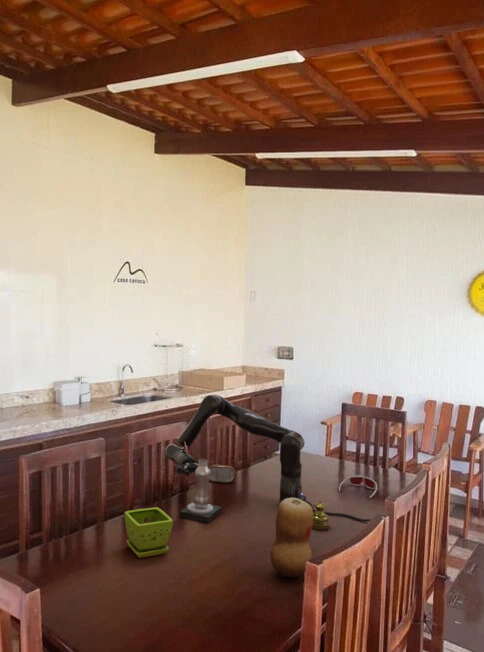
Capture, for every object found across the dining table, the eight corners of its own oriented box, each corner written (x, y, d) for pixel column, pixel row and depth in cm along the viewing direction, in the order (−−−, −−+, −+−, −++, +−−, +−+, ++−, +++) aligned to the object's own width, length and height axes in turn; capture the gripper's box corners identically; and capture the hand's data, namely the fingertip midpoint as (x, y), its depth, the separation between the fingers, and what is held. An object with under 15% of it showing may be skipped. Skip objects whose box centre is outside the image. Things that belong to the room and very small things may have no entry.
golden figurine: (328, 531, 215) (329, 506, 215) (309, 529, 217) (310, 504, 217) (327, 524, 223) (329, 500, 222) (309, 522, 224) (310, 498, 224)
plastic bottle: (192, 504, 231) (194, 457, 230) (208, 504, 231) (210, 458, 231) (193, 509, 224) (195, 462, 224) (209, 509, 225) (211, 462, 225)
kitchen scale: (221, 512, 231) (221, 505, 231) (208, 523, 219) (208, 515, 218) (194, 506, 237) (194, 499, 237) (179, 516, 224) (180, 509, 224)
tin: (235, 482, 273) (236, 465, 273) (235, 484, 270) (236, 467, 270) (206, 479, 275) (207, 463, 275) (206, 481, 272) (206, 465, 272)
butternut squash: (301, 590, 169) (305, 511, 168) (263, 577, 176) (266, 501, 175) (316, 572, 180) (320, 499, 180) (279, 561, 187) (283, 490, 187)
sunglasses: (381, 489, 271) (381, 479, 270) (372, 504, 257) (372, 494, 256) (347, 482, 280) (347, 473, 279) (336, 496, 266) (336, 486, 265)
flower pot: (135, 562, 182) (137, 525, 182) (121, 545, 195) (123, 511, 194) (173, 555, 189) (174, 519, 189) (157, 539, 201) (158, 506, 201)
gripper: (171, 455, 246) (182, 465, 231) (200, 454, 251) (213, 463, 235) (171, 471, 246) (181, 483, 231) (200, 470, 251) (212, 480, 236)
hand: (197, 473), depth 233 cm, fingers open, 8 cm apart
